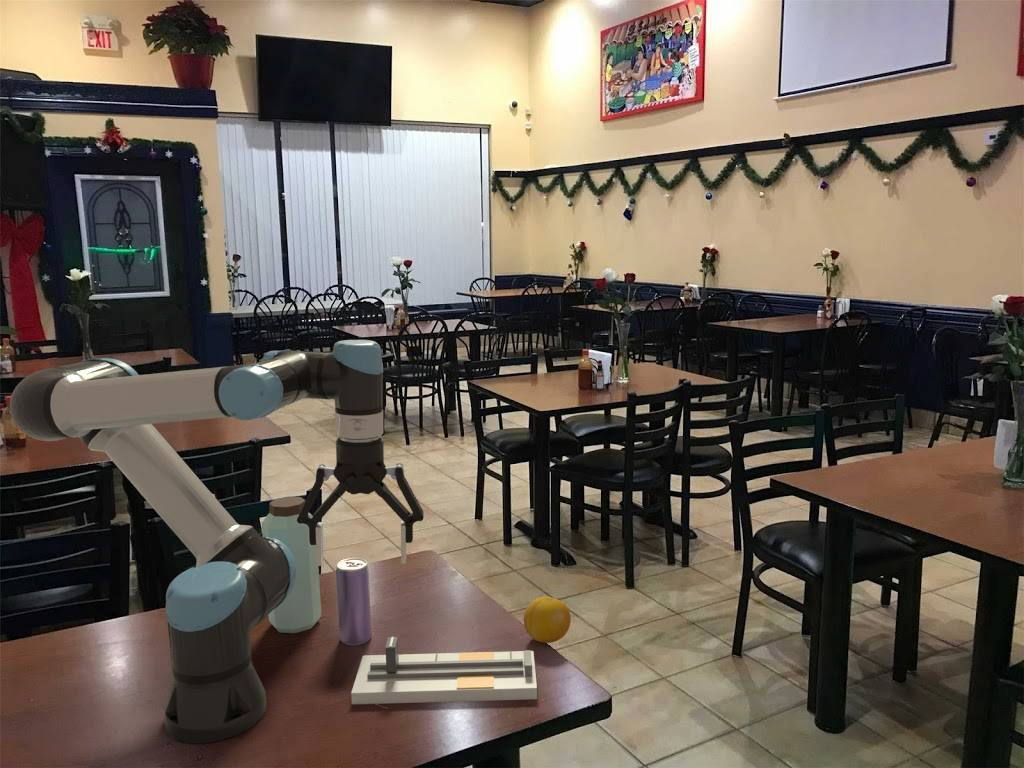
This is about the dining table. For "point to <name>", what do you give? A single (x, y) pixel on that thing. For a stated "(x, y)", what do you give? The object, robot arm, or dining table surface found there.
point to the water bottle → (305, 596)
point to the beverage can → (353, 601)
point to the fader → (392, 654)
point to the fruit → (547, 619)
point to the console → (446, 678)
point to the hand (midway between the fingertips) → (362, 561)
